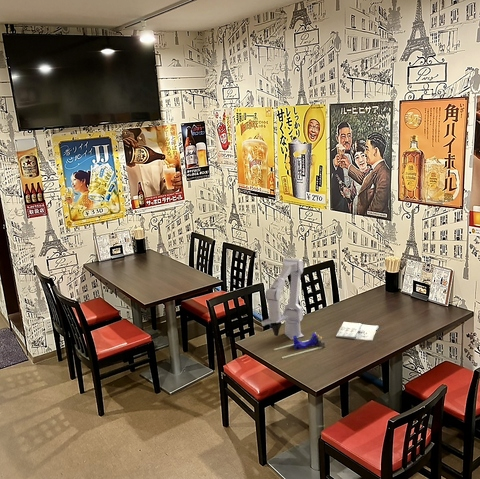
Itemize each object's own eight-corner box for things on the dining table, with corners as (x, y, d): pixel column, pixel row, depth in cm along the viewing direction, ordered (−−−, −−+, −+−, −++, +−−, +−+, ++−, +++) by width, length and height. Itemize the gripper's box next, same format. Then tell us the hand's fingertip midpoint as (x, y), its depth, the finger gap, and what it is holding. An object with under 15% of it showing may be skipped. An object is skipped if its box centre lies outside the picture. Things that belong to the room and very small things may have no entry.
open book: (344, 323, 286) (344, 320, 285) (379, 327, 277) (379, 324, 276) (335, 338, 270) (335, 334, 269) (372, 342, 261) (372, 339, 260)
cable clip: (295, 349, 260) (294, 339, 259) (293, 346, 264) (293, 335, 263) (317, 347, 261) (317, 336, 259) (315, 343, 265) (315, 333, 264)
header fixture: (273, 349, 262) (273, 341, 260) (314, 339, 269) (314, 330, 268) (282, 358, 252) (281, 350, 250) (324, 347, 259) (324, 338, 258)
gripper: (264, 316, 248) (266, 341, 251) (290, 310, 253) (292, 334, 256) (259, 312, 254) (261, 336, 258) (284, 306, 259) (286, 329, 262)
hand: (276, 335), depth 257 cm, fingers closed
